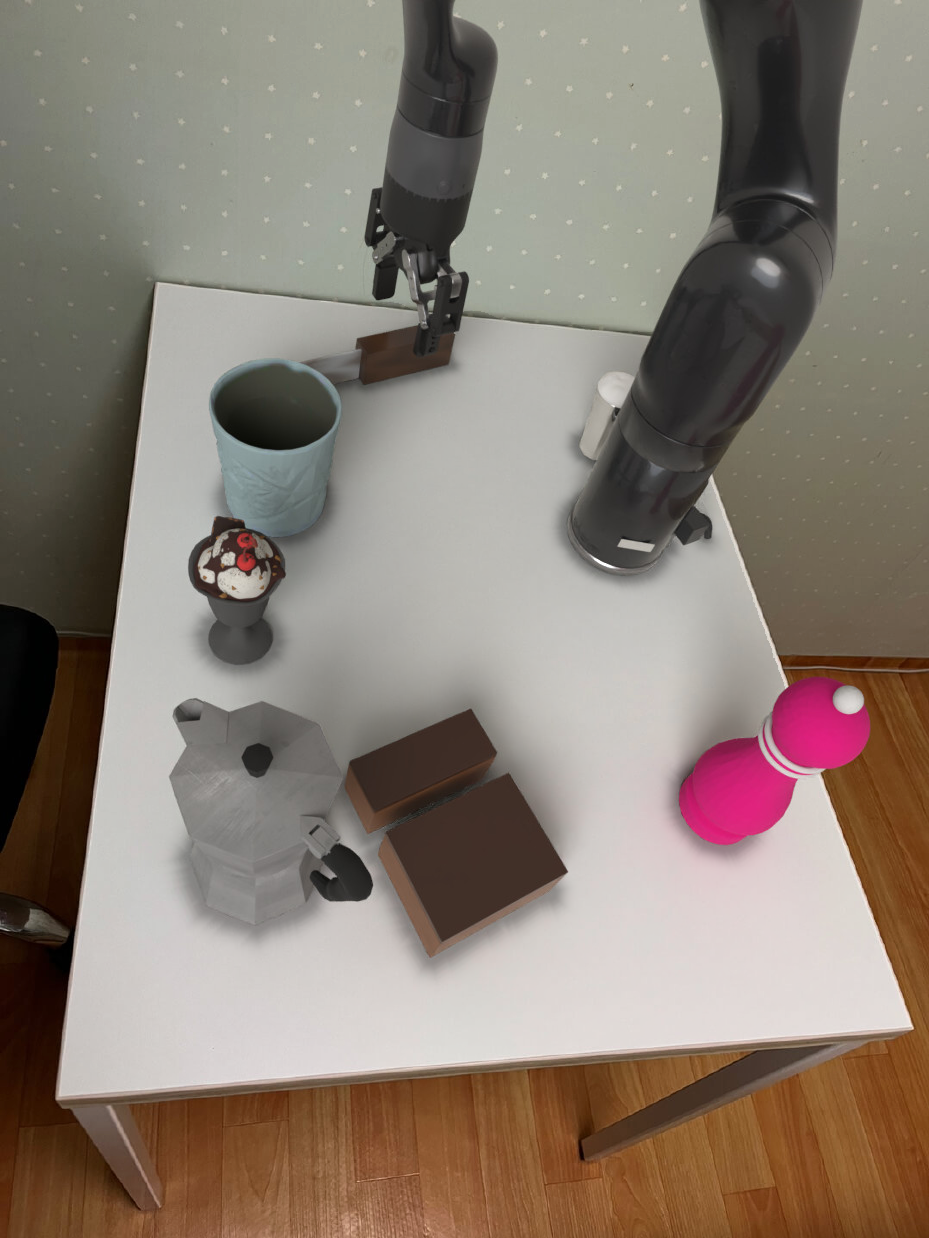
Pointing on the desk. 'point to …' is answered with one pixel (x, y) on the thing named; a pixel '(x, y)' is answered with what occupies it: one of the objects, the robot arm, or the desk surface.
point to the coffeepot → (261, 810)
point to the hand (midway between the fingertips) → (402, 325)
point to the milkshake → (604, 411)
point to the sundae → (237, 587)
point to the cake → (469, 863)
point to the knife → (382, 358)
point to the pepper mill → (774, 760)
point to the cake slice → (418, 770)
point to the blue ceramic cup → (275, 442)
